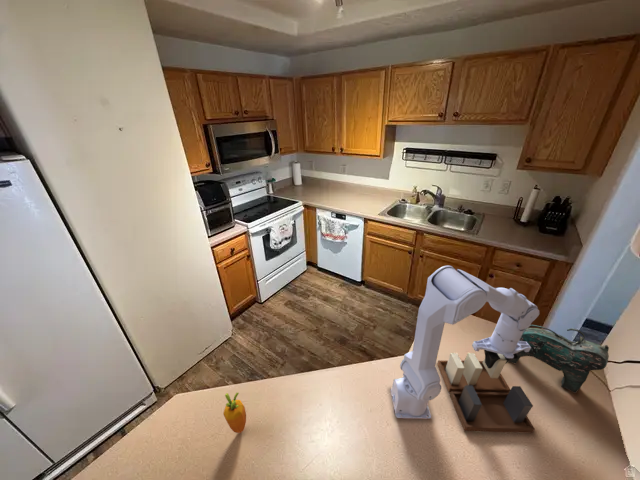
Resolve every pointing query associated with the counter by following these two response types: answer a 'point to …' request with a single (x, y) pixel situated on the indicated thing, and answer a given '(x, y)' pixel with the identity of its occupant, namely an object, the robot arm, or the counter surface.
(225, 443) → the counter surface
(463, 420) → the dark wooden tray
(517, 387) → the charcoal book
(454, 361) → the cream book
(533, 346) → the green mottled arch
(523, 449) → the counter surface
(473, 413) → the charcoal book
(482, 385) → the shallow brown tray
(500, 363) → the cream book
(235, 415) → the carrot
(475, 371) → the cream book
